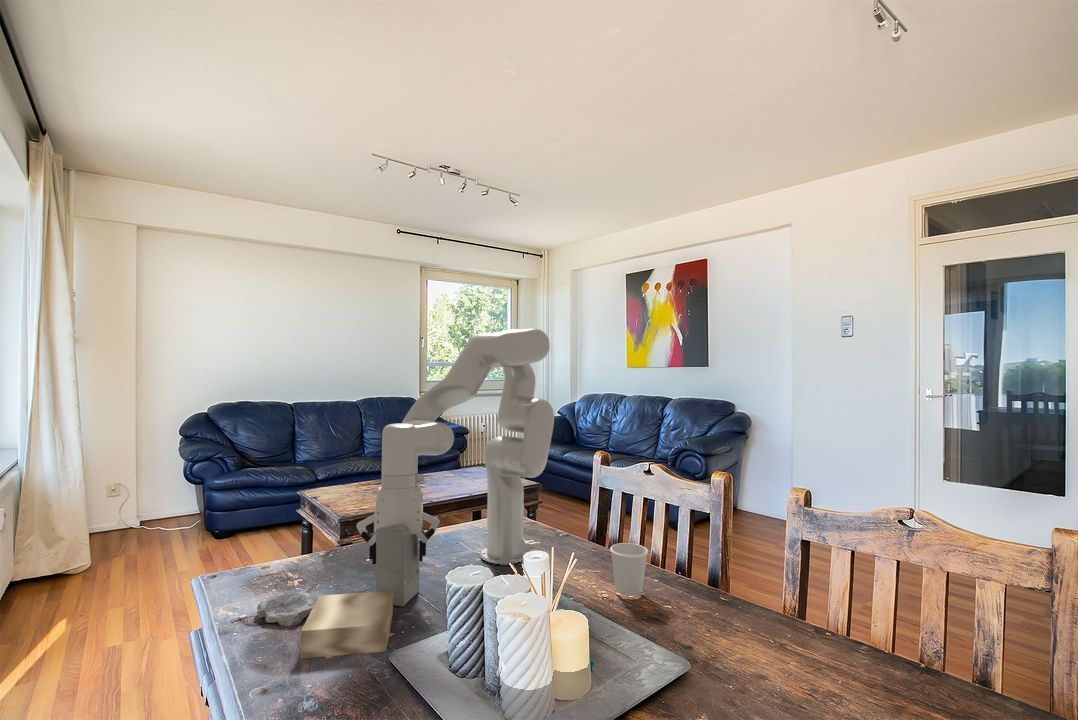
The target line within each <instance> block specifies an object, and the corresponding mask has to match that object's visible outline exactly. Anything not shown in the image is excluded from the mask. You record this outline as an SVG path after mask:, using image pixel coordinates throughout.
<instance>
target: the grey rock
mask: <svg viewBox="0 0 1078 720" xmlns="http://www.w3.org/2000/svg"><path fill="white" fill-rule="evenodd" d="M314 605H315V603H314V601H313V599H312V598H311V595H310V593H309V592H303V591H302V592H301V591H300V592H297V591H294V592H287V593H286V592H285V593H281V594H274V595H272V596H271V597H269V598H267V599H265V600H263V601H262V600H261V601H260V602H259V603H258V604H257V607H256V615H257V618H258V620H261V619H263V618H264V619H265V622H266V623H268V624H270V623H278V624H279V626H284V627H289V626H290V627H294V626H297V625H300V624H301V623H302V621H303V619H304V618H305V617H307V616H309V615H310V613H311V611H312V609H313V607H314Z"/></svg>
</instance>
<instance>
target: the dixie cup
mask: <svg viewBox="0 0 1078 720" xmlns="http://www.w3.org/2000/svg"><path fill="white" fill-rule="evenodd" d="M609 548H610V549H609V550H610V552H611V561H612V571H613V578H614V579H613V580H614V581H613V582H614V588H615V590H616V591H617V592H618V593H620V594H623V595H628V596H632V595H637V594H640V593H641V592H642V593H643V588H644V587H643V586H644V582H645V581H644V580H645V573H646V565H647V559H648V558H647V557H648V554H649V550H648V548H647V547H645V546H643V545H641V544H637V543H633V542H632V543H631V542H620V543H615V544H613V545H611V547H609ZM615 590H614V591H615ZM616 591H615V592H616Z"/></svg>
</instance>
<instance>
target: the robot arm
mask: <svg viewBox="0 0 1078 720" xmlns="http://www.w3.org/2000/svg"><path fill="white" fill-rule="evenodd" d="M550 345H551V344H550V339H549V336H548V335H547V334H546V332H544V331H543V330H541V329H538V328H524V329H523V328H521V329H507V330H502V331H499V332H490V333H489V332H488V333H479V334H475V335H474V336H471V338H470V339H469V340H468V341H467V343H466V344H465V346H464V347H463V349H462V350H461V352H460V353H459V355H458V357H457V358H456V360H455V361H454V363H453V364H452V366H451V367H450V369H449V370H448V372H447V373H446V375H445V376H444V378H443V379H442V380H440V381H439V382H437V384H434V385H433V386H432V387H431V388H430V389H429V390H427V391H426V392H425V393H423V394H422V395H421V396H420V397H419V398H418V399H417V400H416V401H415V402H414V404H413V405H412V406H411V407H410V409H409V410H408V412H407V413H406V415H405V417H404V419H403V420H402V422H401V423H398V422H397V423H390V424H387V425H385V426H384V427H383V429H382V435H381V436H382V437H381V443H382V444H381V446H382V447H381V478H380V479H381V485H380V486H378V488H377V492H376V497H375V504H374V505H375V506H374V514H372V515H370V516H368V517H366V518H364V519H362V520H360V521H359V522H357V523H356V529H357V531H358V532H359V534H360V537H361V538H362V539H363V540H364V541H365V542H366V543H367V544H368V545H369V560H372V565H376V529H379V528H393V527H408V529H409V534H410V535H415V534H416V535H417V536H418V538H419V563H422V562H423V557H426V556H427V543H428V541H429V539H430V538H431V537H432V536H433V535H434V534H435V532H436V530H437V529H438V526H439V525H440V519H439V518H438V517H435V516H433V515H430V514H428V513H426V512H424V505H423V504H424V503H423V502H424V501H423V500H424V499H423V492H422V487H421V485H420V484H419V483H421V482H425V475H424V474H419V473H418V466H419V465H418V464H419V461H418V460H419V459H418V458H419V456H440V455H443V454H446V452H448V451H449V450H451V448H452V447H453V445H454V441H455V433H454V431H453V430H452V428H451V427H450V425H448V424H446V423H444V422H441V421H436V420H437V419H438V418H439V417H440V416H441V415H442V414H443V413H445V412H446V411H448V410H450V409H452V408H454V407H456V406H459V405H462V404H464V403H467V402H468V401H470V400H472V399H473V398H474V397H476V396H477V393H478V392H479V390H480V388H481V387H482V385H483V384H484V382H485V380H486V378H487V377H488V375H489V373H490V371H492V368H502V370H503V375H504V382H503V386H502V387H503V388H502V393H501V398H500V401H499V402H500V403H499V407H498V413H497V423H498V425H499V426H500V428H502V429H503V430H505V431H508V432H513V433H521V434H523V437H522V438H521V437H518V436H507V435H500V436H495V437H493V438H491V439H490V440H489V441H488V443H486V445H485V448H484V452H483V454H484V455H483V457H484V465H485V469H486V471H485V472H486V478H487V503H486V504H487V513H486V517H487V518H486V519H487V520H486V521H487V522H486V525H487V526H486V548H483V549H482V550H481V552H480V558H482V559H483V560H485V561H488V562H492V563H496V564H500V565H499V566H509V565H508V564H507V562H511V563H516V562H520V561H522V557H523V555H524V554H525V552H526V551H527V552H529V551H530V550H534V551H536V550H541V549H542V543H541V541H535V540H534V539H529V540H526V539H525V537H524V504H525V503H524V496H525V491H524V484H523V480H522V477H524V478H530V479H531V478H532V479H533V478H537V477H539V476H540V475H541V474H542V473H543V471H544V470H545V469H546V466H547V462H548V458H549V453H550V447H551V443H552V436H553V431H554V425H555V414H554V410H553V407H552V404H551V403H550V402H549V401H547V400H546V399H544V398H541V397H534V396H535V391H536V390H535V388H536V375H535V372H534V369H533V367H532V366H531V364H533V363H537V362H541V361H542V360H543V359H545V358H546V357H547V355H548V353H549V352H550ZM424 521H425V522H427V523H429V524H431V525H430V527H429V528H428V529H427V530H426V531H425V530H424V529H423V524H424ZM372 523H373V533H370V532H369V531H368V530H367V529H366V527H367V526H368V525H371V524H372ZM482 559H481V560H482ZM483 560H482V561H483ZM485 561H484V562H485Z"/></svg>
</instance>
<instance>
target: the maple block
mask: <svg viewBox="0 0 1078 720" xmlns="http://www.w3.org/2000/svg"><path fill="white" fill-rule="evenodd" d="M393 613H394V605H393V591H382V592H377V591H369V592H368V591H367V592H354V593H341V594H326V595H319V596H318V598H317V599H316V601H315V603H314V607H313V609H312V611H311V612H310V613H309V614H308V617H307V618H306V621H305V623H304V624H303V626H302V628H301V631H300V659H311V658H322V657H323V658H324V657H334V656H345V655H346V656H347V655H357V654H370V653H371V654H372V653H379V652H386V651H387V648H388V647H387V646H388V642H389V637H390V631H391V626H392V621H393V620H392V619H393V615H394V614H393Z"/></svg>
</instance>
